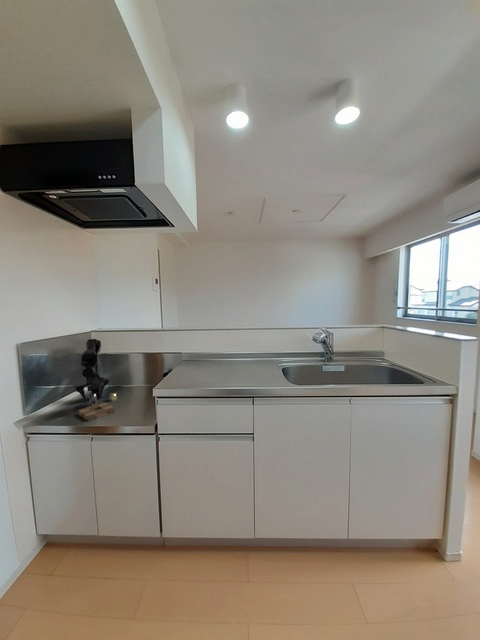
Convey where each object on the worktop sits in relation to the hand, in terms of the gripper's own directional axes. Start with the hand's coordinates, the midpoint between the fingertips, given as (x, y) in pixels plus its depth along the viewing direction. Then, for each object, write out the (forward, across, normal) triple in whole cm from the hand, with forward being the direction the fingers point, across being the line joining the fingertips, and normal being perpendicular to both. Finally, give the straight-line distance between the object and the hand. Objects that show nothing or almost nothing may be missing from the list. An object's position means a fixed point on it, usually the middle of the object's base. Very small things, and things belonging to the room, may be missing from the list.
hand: (92, 397), depth 159 cm
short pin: (+5, +12, 0) cm, 13 cm away
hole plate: (+5, -3, -12) cm, 13 cm away
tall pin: (+5, 0, 0) cm, 5 cm away
